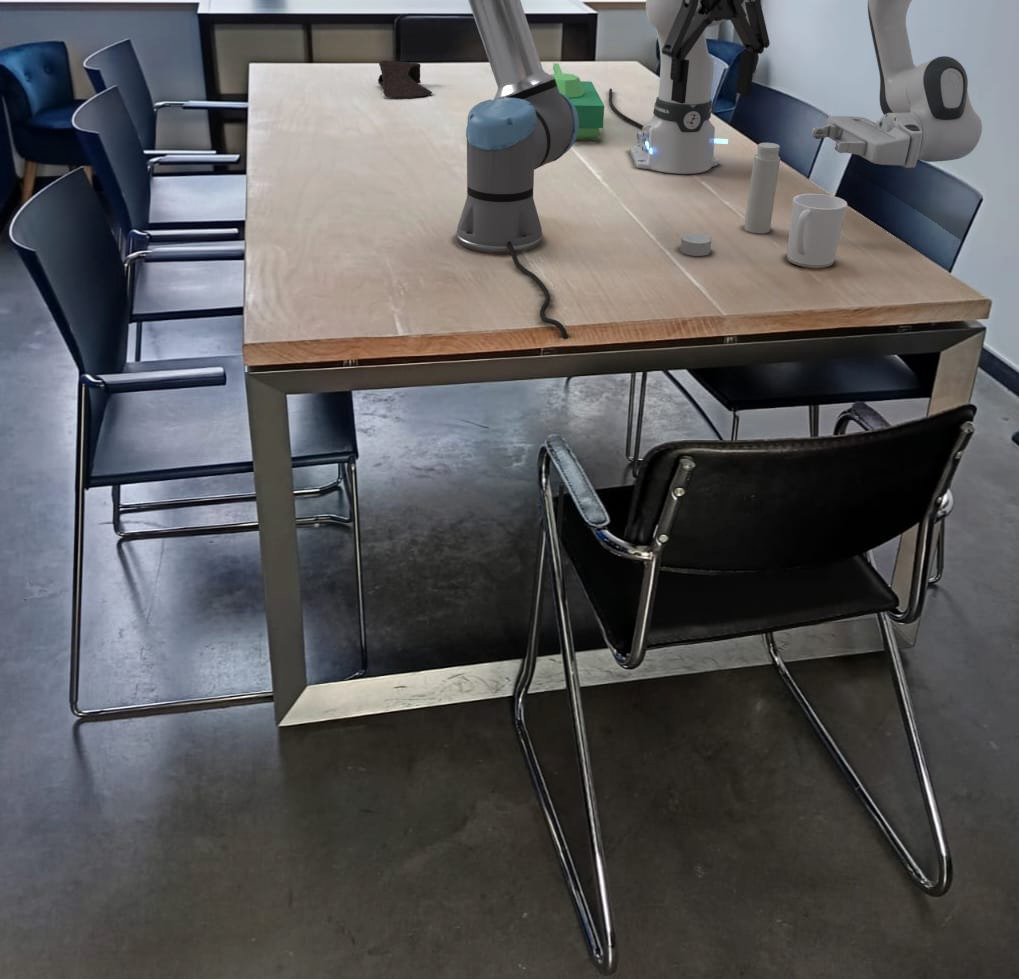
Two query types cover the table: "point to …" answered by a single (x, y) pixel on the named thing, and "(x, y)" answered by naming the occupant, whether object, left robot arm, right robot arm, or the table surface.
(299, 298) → the table surface
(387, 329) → the table surface
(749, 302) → the table surface
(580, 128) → the toy tank
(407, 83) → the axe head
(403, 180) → the table surface
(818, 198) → the mug
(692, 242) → the lid
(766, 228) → the grey bottle
